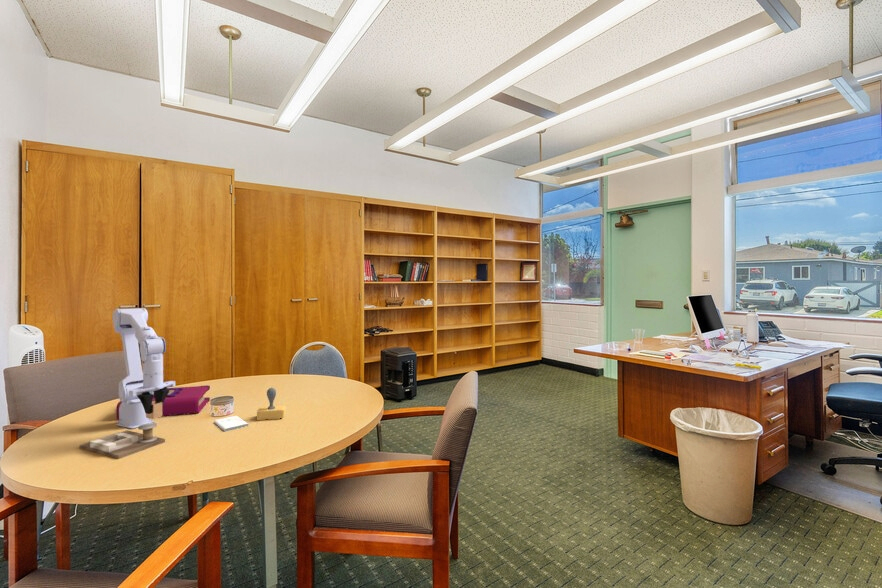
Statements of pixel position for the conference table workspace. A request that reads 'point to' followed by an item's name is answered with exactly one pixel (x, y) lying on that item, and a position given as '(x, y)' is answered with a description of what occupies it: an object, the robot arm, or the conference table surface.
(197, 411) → the book
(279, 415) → the rubber stamp
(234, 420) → the external hard drive
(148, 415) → the orange and brown block
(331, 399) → the conference table surface
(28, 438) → the conference table surface
